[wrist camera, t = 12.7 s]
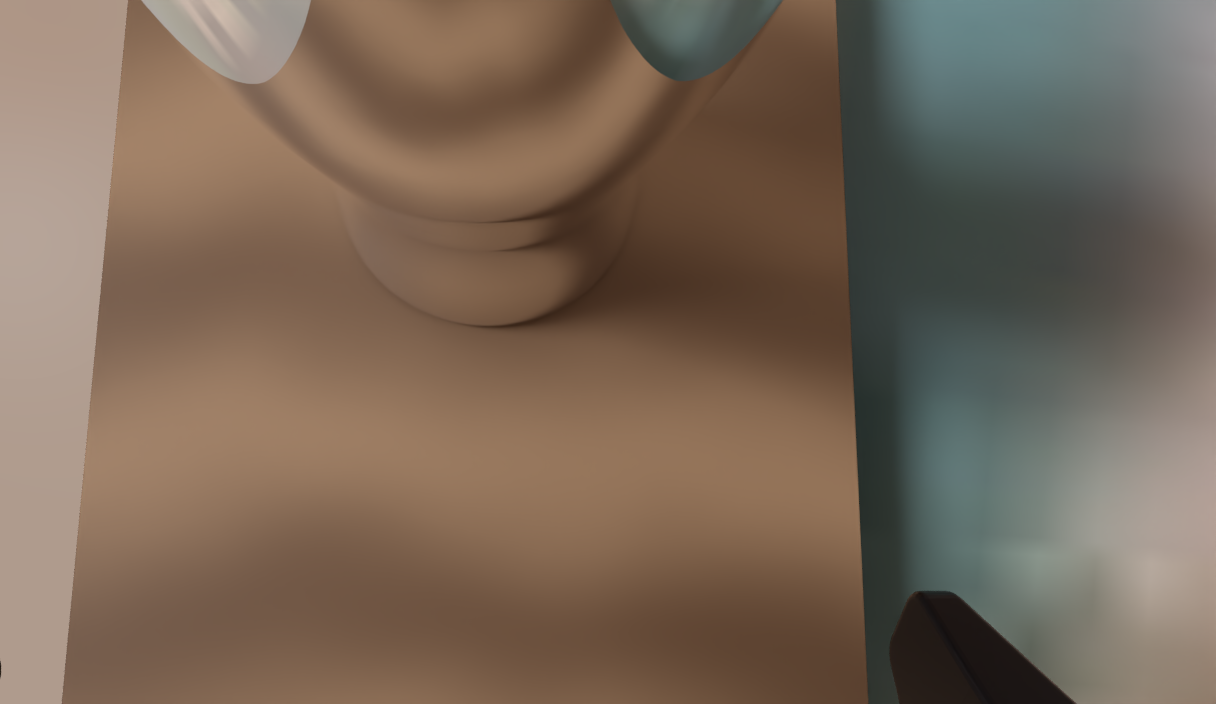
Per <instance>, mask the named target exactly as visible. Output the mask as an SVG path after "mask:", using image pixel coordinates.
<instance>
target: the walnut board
mask: <svg viewBox="0 0 1216 704" xmlns="http://www.w3.org/2000/svg"><path fill="white" fill-rule="evenodd" d="M104 252H105V253H104V262H103V273H102V283H101V295H100V305H99V315H98V326H97V337H96V347H95V357H94V368H93V378H92V379H93V380H92V389H91V401H90V410H89V421H88V431H87V442H86V453H85V464H84V474H83V485H82V495H81V506H80V516H79V527H78V537H77V548H76V559H75V569H74V581H73V591H72V601H71V611H70V622H69V633H68V643H67V654H66V664H65V675H64V686H63V697H62V704H868V687H867V665H866V644H865V622H864V601H863V579H862V558H861V536H860V514H859V493H858V471H857V450H856V428H855V407H854V385H853V364H852V342H851V321H850V299H849V278H848V256H847V235H846V213H845V192H844V170H843V149H842V127H841V105H840V84H839V62H838V41H837V19H836V0H784V2H783V3H782V5H781V6H780V8H779V10H778V11H777V13H776V14H775V16H774V17H773V19H772V21H771V22H770V24H769V25H768V27H767V29H766V30H765V32H764V33H763V35H762V36H761V38H760V40H759V41H758V43H757V44H756V46H755V47H754V48H753V50H752V51H751V53H750V54H749V55H748V57H747V58H746V59H745V60H744V62H743V63H742V64H741V65H740V67H739V68H738V69H737V70H736V71H735V72H734V74H733V75H732V76H731V77H730V78H729V79H728V81H727V82H726V83H725V84H724V85H723V86H722V87H721V89H720V90H719V91H718V92H717V93H716V94H715V95H714V97H713V98H712V99H711V100H710V101H709V102H708V103H707V105H706V106H705V107H704V108H703V109H702V110H701V112H700V113H699V114H698V115H697V116H696V117H695V118H694V120H693V121H692V122H691V123H690V124H689V125H688V126H687V127H686V128H685V129H684V130H683V131H682V132H681V133H680V134H679V135H678V136H677V137H676V138H675V139H674V140H673V141H672V142H671V143H669V144H668V145H667V146H666V147H665V148H664V149H663V150H662V151H661V152H660V153H659V154H658V155H657V156H655V157H654V158H653V159H652V160H651V161H650V162H649V163H648V164H647V165H646V166H645V167H644V168H642V169H641V170H640V171H639V172H638V173H637V194H636V201H635V207H634V212H633V217H632V221H631V224H630V228H629V230H628V233H627V236H626V238H625V241H624V243H623V245H622V247H621V249H620V251H619V253H618V255H617V256H616V258H615V259H614V261H613V262H612V264H611V265H610V267H609V268H608V270H607V271H606V272H605V273H604V275H603V276H602V277H601V278H600V279H599V280H598V281H597V282H596V283H595V284H594V285H593V286H592V287H591V288H590V289H589V290H588V291H587V292H585V293H584V294H583V295H581V296H580V297H579V298H577V299H576V300H574V301H573V302H571V303H570V304H568V305H566V306H565V307H563V308H561V309H559V310H557V311H555V312H553V313H551V314H548V315H546V316H543V317H540V318H537V319H534V320H530V321H527V322H522V323H517V324H511V325H502V326H476V325H467V324H461V323H456V322H451V321H447V320H444V319H441V318H438V317H435V316H432V315H430V314H427V313H425V312H423V311H421V310H418V309H416V308H415V307H413V306H411V305H409V304H408V303H406V302H404V301H403V300H401V299H400V298H398V297H397V296H395V295H394V294H393V293H391V292H390V291H389V290H388V289H387V288H386V287H384V286H383V285H382V284H381V283H380V282H379V281H378V280H377V279H376V278H375V277H374V276H373V275H372V274H371V272H370V271H369V270H368V269H367V268H366V266H365V265H364V264H363V262H362V261H361V259H360V258H359V256H358V254H357V253H356V251H355V249H354V247H353V245H352V243H351V241H350V239H349V237H348V234H347V232H346V229H345V227H344V224H343V221H342V217H341V214H340V209H339V205H338V201H337V196H336V189H335V183H334V182H333V181H331V180H330V179H328V178H327V177H326V176H324V175H323V174H322V173H320V172H319V171H318V170H316V169H315V168H314V167H312V166H311V165H310V164H308V163H307V162H306V161H304V160H303V159H301V158H300V157H299V156H297V155H296V154H295V153H293V152H292V151H291V150H289V149H288V148H287V147H285V146H284V145H283V144H282V143H280V142H279V141H278V140H277V139H275V138H274V137H273V136H272V135H271V134H269V133H268V132H267V131H266V130H265V129H264V128H263V127H262V126H261V125H259V124H258V123H257V122H256V121H255V120H254V119H253V118H252V117H251V116H250V115H249V114H248V113H246V112H245V111H244V110H243V109H242V108H241V107H240V106H239V105H238V104H237V103H236V102H234V101H233V100H232V99H231V98H230V97H229V96H228V95H227V94H226V93H225V92H224V91H223V90H221V89H220V88H219V87H218V86H217V85H216V84H215V83H214V82H213V81H212V80H211V79H209V78H208V77H207V76H206V75H205V74H204V73H203V72H202V71H201V70H200V69H199V68H198V67H197V66H196V65H195V64H194V63H193V62H192V61H191V60H190V58H189V57H188V56H187V55H186V54H185V53H184V52H183V51H182V49H181V48H180V47H179V46H178V45H177V43H176V42H175V41H174V40H173V39H172V37H171V36H170V35H169V34H168V32H167V31H166V30H165V29H164V28H163V26H162V25H161V24H160V23H159V21H158V20H157V19H156V18H155V17H154V15H153V14H152V13H151V12H150V10H149V9H148V8H147V7H146V6H145V4H144V3H143V2H142V1H141V0H128V8H127V18H126V29H125V40H124V50H123V61H122V71H121V82H120V93H119V103H118V114H117V124H116V136H115V145H114V156H113V167H112V177H111V188H110V198H109V209H108V220H107V230H106V241H105V251H104Z"/></svg>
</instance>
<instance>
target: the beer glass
mask: <svg viewBox="0 0 1216 704" xmlns="http://www.w3.org/2000/svg"><path fill="white" fill-rule="evenodd" d="M141 1H142V2H143V3H144V4H145V6H146V7H147V8H148V9H149V10H150V12H151V13H152V14H153V15H154V17H155V18H156V19H157V20H158V21H159V23H160V24H161V25H162V26H163V28H164V29H165V30H166V31H167V32H168V34H169V35H170V36H171V37H172V39H173V40H174V41H175V42H176V43H177V45H178V46H179V47H180V48H181V49H182V51H183V52H184V53H185V54H186V55H187V56H188V57H189V58H190V60H191V61H192V62H193V63H194V64H195V65H196V66H197V67H198V68H199V69H200V70H201V71H202V72H203V73H204V74H205V75H206V76H207V77H208V78H209V79H211V80H212V81H213V82H214V83H215V84H216V85H217V86H218V87H219V88H220V89H221V90H223V91H224V92H225V93H226V94H227V95H228V96H229V97H230V98H231V99H232V100H233V101H234V102H236V103H237V104H238V105H239V106H240V107H241V108H242V109H243V110H244V111H245V112H246V113H248V114H249V115H250V116H251V117H252V118H253V119H254V120H255V121H256V122H257V123H258V124H259V125H261V126H262V127H263V128H264V129H265V130H266V131H267V132H268V133H269V134H271V135H272V136H273V137H274V138H275V139H277V140H278V141H279V142H280V143H282V144H283V145H284V146H285V147H287V148H288V149H289V150H291V151H292V152H293V153H295V154H296V155H297V156H299V157H300V158H301V159H303V160H304V161H306V162H307V163H308V164H310V165H311V166H312V167H314V168H315V169H316V170H318V171H319V172H320V173H322V174H323V175H324V176H326V177H327V178H328V179H330V180H331V181H333V182H334V183H335V189H336V196H337V201H338V205H339V209H340V214H341V217H342V221H343V224H344V227H345V229H346V232H347V234H348V237H349V239H350V241H351V243H352V245H353V247H354V249H355V251H356V253H357V254H358V256H359V258H360V259H361V261H362V262H363V264H364V265H365V266H366V268H367V269H368V270H369V271H370V272H371V274H372V275H373V276H374V277H375V278H376V279H377V280H378V281H379V282H380V283H381V284H382V285H383V286H384V287H386V288H387V289H388V290H389V291H390V292H391V293H393V294H394V295H395V296H397V297H398V298H400V299H401V300H403V301H404V302H406V303H408V304H409V305H411V306H413V307H415V308H416V309H418V310H421V311H423V312H425V313H427V314H430V315H432V316H435V317H438V318H441V319H444V320H447V321H451V322H456V323H461V324H467V325H476V326H502V325H511V324H517V323H522V322H527V321H530V320H534V319H537V318H540V317H543V316H546V315H548V314H551V313H553V312H555V311H557V310H559V309H561V308H563V307H565V306H566V305H568V304H570V303H571V302H573V301H574V300H576V299H577V298H579V297H580V296H581V295H583V294H584V293H585V292H587V291H588V290H589V289H590V288H591V287H592V286H593V285H594V284H595V283H596V282H597V281H598V280H599V279H600V278H601V277H602V276H603V275H604V273H605V272H606V271H607V270H608V268H609V267H610V265H611V264H612V262H613V261H614V259H615V258H616V256H617V255H618V253H619V251H620V249H621V247H622V245H623V243H624V241H625V238H626V236H627V233H628V230H629V228H630V224H631V221H632V217H633V212H634V207H635V201H636V194H637V173H638V172H639V171H640V170H641V169H642V168H644V167H645V166H646V165H647V164H648V163H649V162H650V161H651V160H652V159H653V158H654V157H655V156H657V155H658V154H659V153H660V152H661V151H662V150H663V149H664V148H665V147H666V146H667V145H668V144H669V143H671V142H672V141H673V140H674V139H675V138H676V137H677V136H678V135H679V134H680V133H681V132H682V131H683V130H684V129H685V128H686V127H687V126H688V125H689V124H690V123H691V122H692V121H693V120H694V118H695V117H696V116H697V115H698V114H699V113H700V112H701V110H702V109H703V108H704V107H705V106H706V105H707V103H708V102H709V101H710V100H711V99H712V98H713V97H714V95H715V94H716V93H717V92H718V91H719V90H720V89H721V87H722V86H723V85H724V84H725V83H726V82H727V81H728V79H729V78H730V77H731V76H732V75H733V74H734V72H735V71H736V70H737V69H738V68H739V67H740V65H741V64H742V63H743V62H744V60H745V59H746V58H747V57H748V55H749V54H750V53H751V51H752V50H753V48H754V47H755V46H756V44H757V43H758V41H759V40H760V38H761V36H762V35H763V33H764V32H765V30H766V29H767V27H768V25H769V24H770V22H771V21H772V19H773V17H774V16H775V14H776V13H777V11H778V10H779V8H780V6H781V5H782V3H783V2H784V0H141Z"/></svg>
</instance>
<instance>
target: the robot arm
mask: <svg viewBox="0 0 1216 704" xmlns="http://www.w3.org/2000/svg"><path fill="white" fill-rule="evenodd" d="M889 654H890V662H891V667H892V672H893V676H894V681H895V685H896V689H897V694H898V698H899V703H900V704H1076V703H1075V702H1074V701H1073V700H1072V699H1071V698H1070V697H1069V696H1068V695H1066V694H1065V693H1064V692H1063V691H1062V690H1061V689H1060V688H1059V687H1058V686H1057V685H1055V684H1054V683H1053V682H1052V681H1051V680H1050V679H1049V678H1048V677H1047V676H1046V675H1045V674H1043V673H1042V672H1041V671H1040V670H1039V669H1038V668H1037V667H1036V666H1035V665H1034V664H1033V663H1031V662H1030V661H1029V660H1028V659H1027V658H1026V657H1025V656H1024V655H1023V654H1022V653H1020V652H1019V651H1018V650H1017V649H1016V648H1015V647H1014V646H1013V645H1012V644H1011V643H1010V642H1008V641H1007V640H1006V639H1005V638H1004V637H1003V636H1002V635H1001V634H1000V633H999V632H998V631H996V630H995V629H994V628H993V627H992V626H991V625H990V624H989V623H988V622H987V621H985V620H984V619H983V618H982V617H981V616H980V615H979V614H978V613H977V612H976V611H975V610H973V609H972V608H971V607H970V606H969V605H968V604H967V603H966V602H965V601H964V600H962V599H961V598H960V597H959V596H957V595H956V594H954V593H952V592H949V591H917V592H915V593H913V594H912V595H911V596H910V597H909V598H908V600H907V602H906V605H905V607H904V609H903V612H902V614H901V617H900V619H899V621H898V624H897V626H896V628H895V631H894V633H893V635H892V638H891V642H890V653H889ZM0 677H1V663H0Z"/></svg>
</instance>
